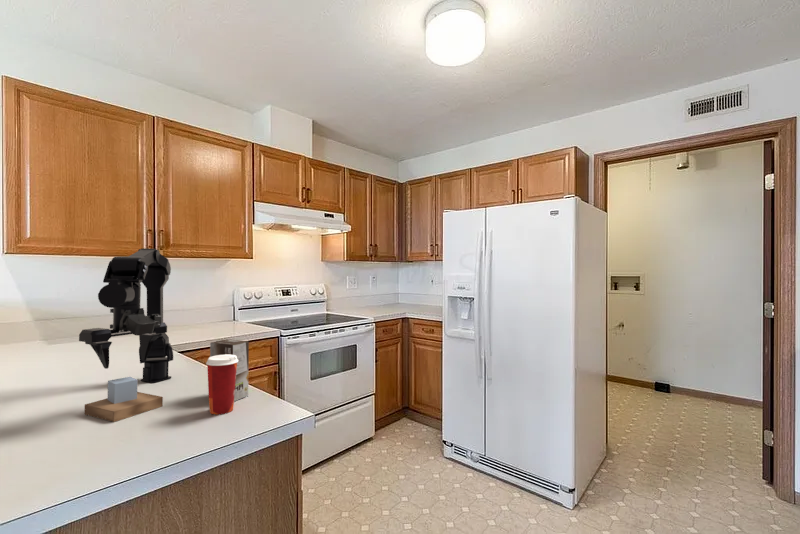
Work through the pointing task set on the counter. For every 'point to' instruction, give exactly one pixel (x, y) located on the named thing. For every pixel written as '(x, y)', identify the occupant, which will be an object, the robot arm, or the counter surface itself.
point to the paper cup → (221, 383)
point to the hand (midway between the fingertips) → (125, 364)
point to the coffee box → (242, 365)
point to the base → (123, 407)
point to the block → (122, 389)
